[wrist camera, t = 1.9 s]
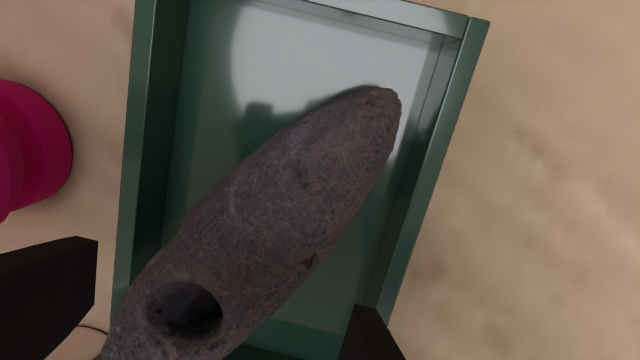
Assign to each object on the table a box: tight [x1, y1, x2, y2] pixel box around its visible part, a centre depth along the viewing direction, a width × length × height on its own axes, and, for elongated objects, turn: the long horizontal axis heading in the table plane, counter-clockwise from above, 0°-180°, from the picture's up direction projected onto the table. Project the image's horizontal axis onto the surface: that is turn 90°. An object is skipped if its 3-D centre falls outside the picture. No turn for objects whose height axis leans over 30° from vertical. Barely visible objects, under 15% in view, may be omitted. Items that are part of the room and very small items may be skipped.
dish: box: [109, 0, 490, 360], centre depth 17 cm, size 13×19×3 cm, turn 167°
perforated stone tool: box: [101, 87, 402, 360], centre depth 15 cm, size 15×5×7 cm, turn 135°
